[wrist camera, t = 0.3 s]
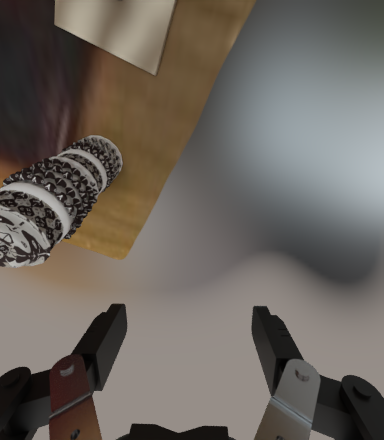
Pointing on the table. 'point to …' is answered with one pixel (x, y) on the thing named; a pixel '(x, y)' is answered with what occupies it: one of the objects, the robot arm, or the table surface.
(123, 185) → the table surface
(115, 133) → the table surface
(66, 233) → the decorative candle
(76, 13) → the post stand
